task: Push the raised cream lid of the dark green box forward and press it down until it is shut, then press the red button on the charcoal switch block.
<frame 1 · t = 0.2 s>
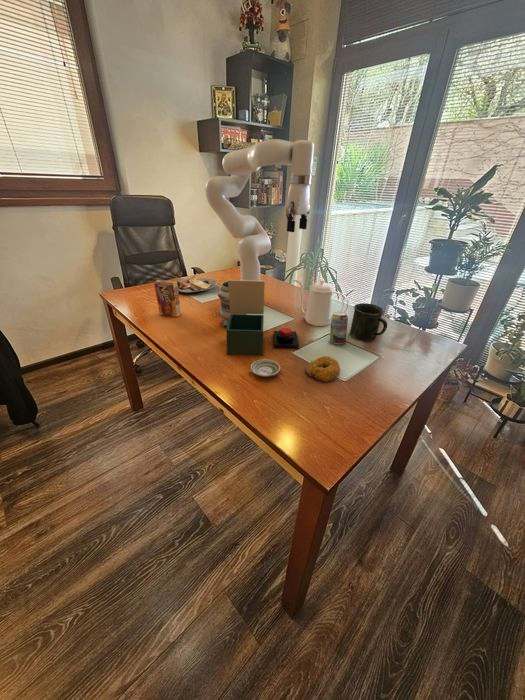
hand: (296, 230, 117), 37 cm above the table, tool pointing down, fingers open, 9 cm apart
bagel: (322, 374, 95), on the table
beverage can: (336, 342, 114), on the table
apothecary jar: (233, 324, 125), on the table
coffeepot: (315, 321, 129), on the table
switch block: (285, 341, 113), on the table
lid: (246, 297, 105), point 17 cm above the table, hinge at 75.0°
saucer: (265, 373, 95), on the table
mug: (365, 337, 117), on the table
candy box: (170, 314, 133), on the table
box: (246, 345, 109), on the table
food plate: (194, 288, 164), on the table
button: (286, 332, 111), point 4 cm above the table, slide at 0.1 cm
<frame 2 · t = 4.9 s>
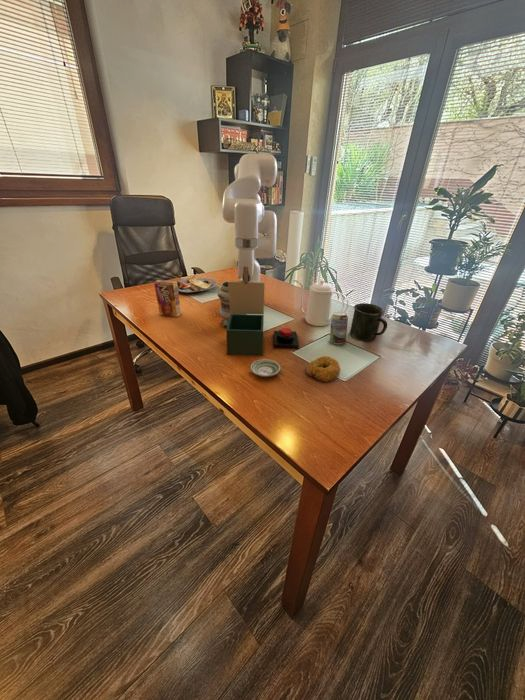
hand: (246, 295, 106), 18 cm above the table, tool pointing down, fingers closed
lid: (246, 298, 105), point 17 cm above the table, hinge at 71.9°, touching gripper
everything else where it was.
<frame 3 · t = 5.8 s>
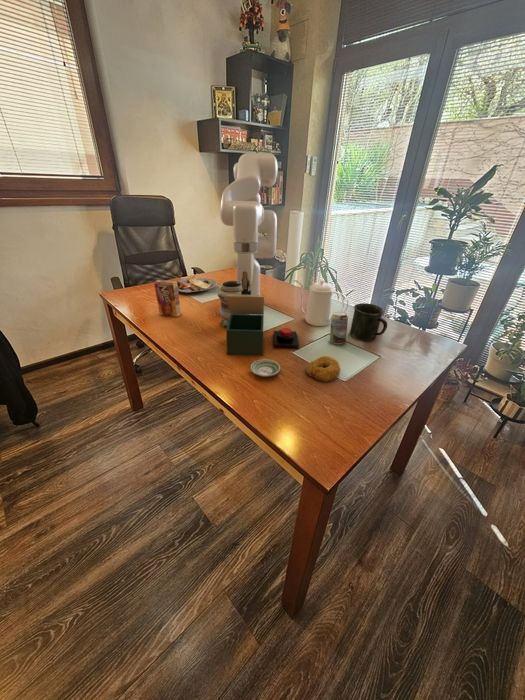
hand: (246, 300, 102), 17 cm above the table, tool pointing down, fingers closed
lid: (246, 305, 103), point 16 cm above the table, hinge at 47.6°, touching gripper
everything else where it was.
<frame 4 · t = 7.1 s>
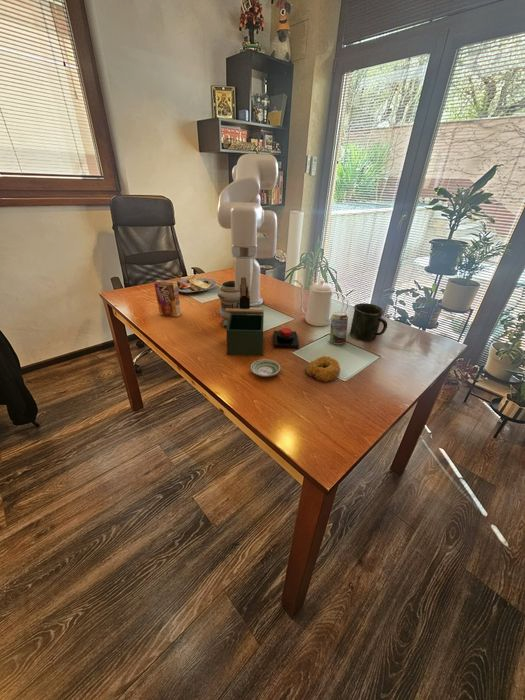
hand: (244, 307, 97), 17 cm above the table, tool pointing down, fingers closed
lid: (246, 311, 103), point 14 cm above the table, hinge at 28.0°
everything else where it was.
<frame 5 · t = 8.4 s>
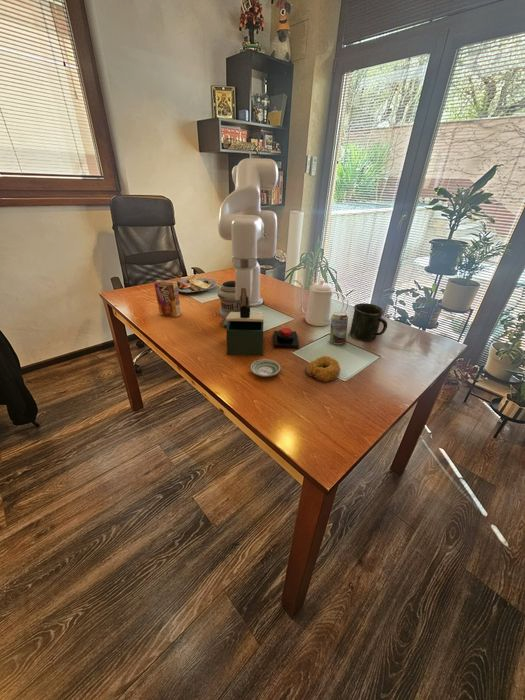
hand: (245, 316, 99), 14 cm above the table, tool pointing down, fingers closed
lid: (245, 316, 103), point 12 cm above the table, hinge at 14.8°, touching gripper
everything else where it was.
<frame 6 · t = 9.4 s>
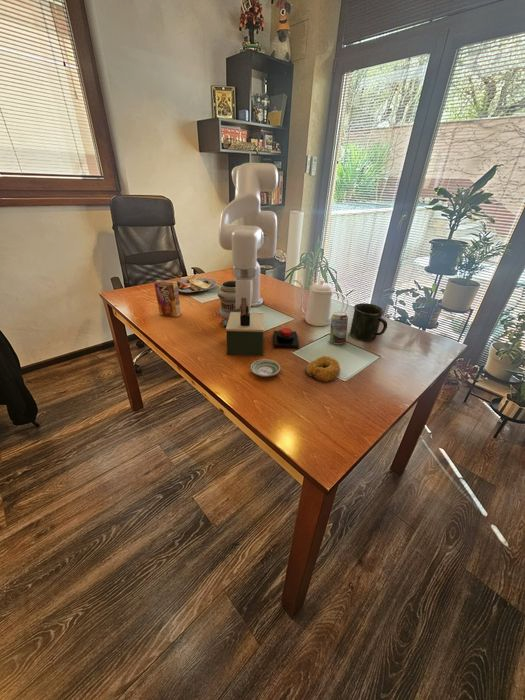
hand: (245, 324, 100), 11 cm above the table, tool pointing down, fingers closed
lid: (245, 321, 104), point 10 cm above the table, hinge at 0.3°, touching gripper
everything else where it was.
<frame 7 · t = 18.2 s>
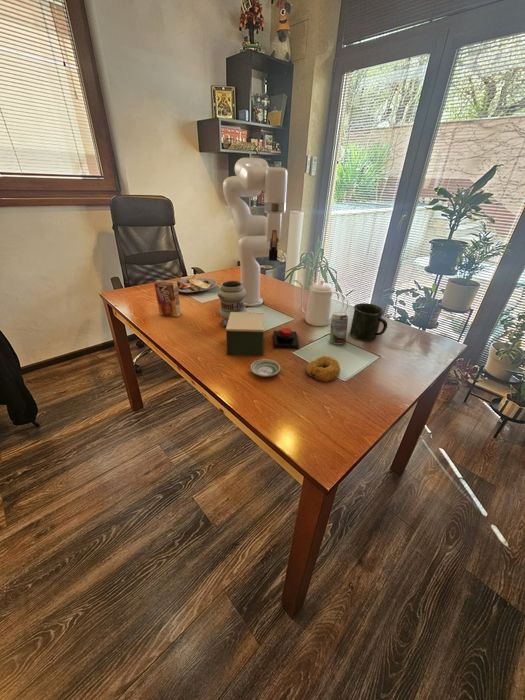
hand: (272, 260, 113), 27 cm above the table, tool pointing down, fingers closed
lid: (245, 321, 104), point 10 cm above the table, hinge at 0.3°
everything else where it was.
at the end: lid at +0° (first picture: +75°); button pushed in 1.2 cm at the most during the clip, back to where it started at the end; button slide at 0.1 cm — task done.
